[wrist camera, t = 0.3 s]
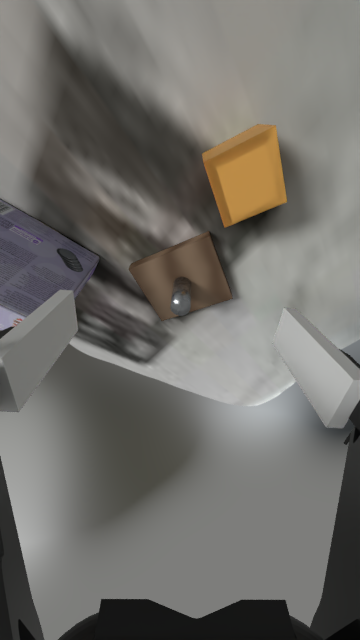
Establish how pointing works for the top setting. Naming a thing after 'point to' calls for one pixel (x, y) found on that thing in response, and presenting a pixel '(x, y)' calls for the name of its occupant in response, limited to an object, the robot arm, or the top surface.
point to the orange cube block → (246, 174)
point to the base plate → (183, 275)
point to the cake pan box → (36, 265)
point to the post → (181, 296)
